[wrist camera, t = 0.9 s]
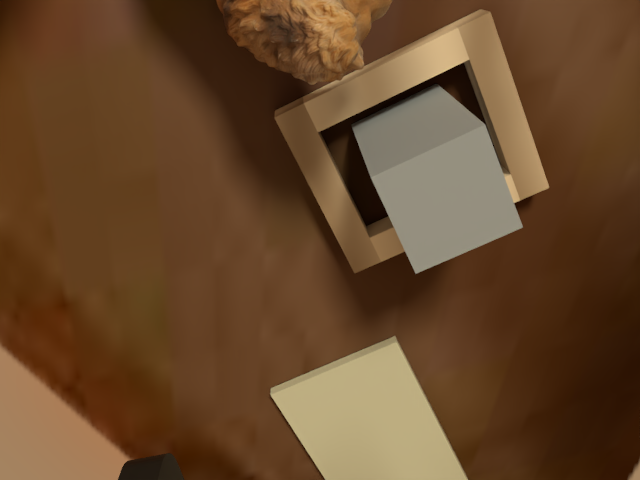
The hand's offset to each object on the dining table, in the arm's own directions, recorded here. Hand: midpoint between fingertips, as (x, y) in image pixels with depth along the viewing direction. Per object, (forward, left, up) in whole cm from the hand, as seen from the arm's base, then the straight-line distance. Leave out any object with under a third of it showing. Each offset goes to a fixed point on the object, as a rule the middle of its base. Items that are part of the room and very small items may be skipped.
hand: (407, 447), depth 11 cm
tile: (+6, +19, -21) cm, 29 cm away
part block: (-3, +2, -22) cm, 22 cm away
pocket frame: (-3, +2, -21) cm, 22 cm away
